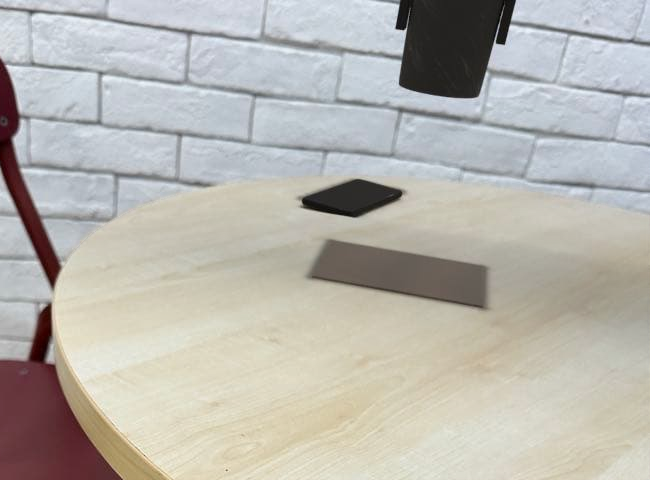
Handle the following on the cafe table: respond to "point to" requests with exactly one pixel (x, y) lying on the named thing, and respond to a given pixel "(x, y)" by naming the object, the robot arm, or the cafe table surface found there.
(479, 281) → the coaster board
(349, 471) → the cafe table surface
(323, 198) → the smartphone
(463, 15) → the travel mug
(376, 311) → the cafe table surface
